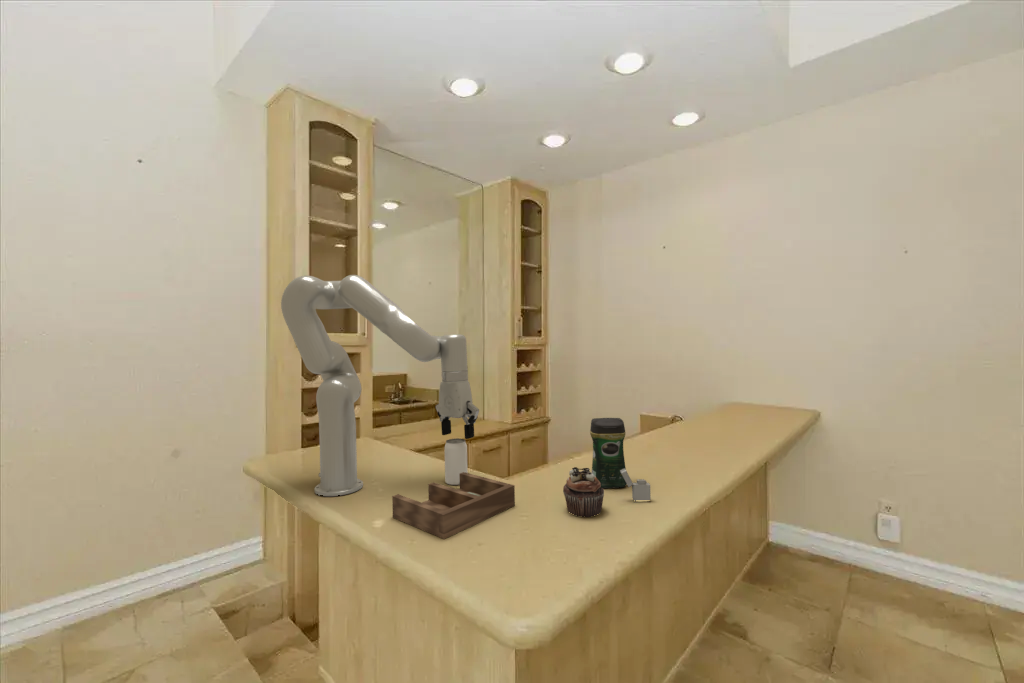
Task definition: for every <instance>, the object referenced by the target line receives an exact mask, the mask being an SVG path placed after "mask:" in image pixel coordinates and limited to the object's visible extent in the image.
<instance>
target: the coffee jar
mask: <svg viewBox="0 0 1024 683" xmlns="http://www.w3.org/2000/svg"><path fill="white" fill-rule="evenodd" d="M589 433H590V438H591V440H592V464H591V473H592V474H593V475H595V477H596V478H597V479H598V480H599V482H600V483H601V488H602V489H617V488H619V487H620V488H625V487H626V486H628V485H627V483H626V482H625V480H624V478H623V476H622V474H621V472H620V470H622V469H624V468H625V469H626V470H627V468H626V463H625V462H626V461H625V460H626V459H625V454H624V452H625V451H624V440H625V437H626V427H625V422H624V420H623V419H622V418H620V417H597V418H594V417H593V418H592V419H591V421H590V430H589Z"/></svg>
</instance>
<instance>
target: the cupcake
mask: <svg viewBox="0 0 1024 683" xmlns="http://www.w3.org/2000/svg"><path fill="white" fill-rule="evenodd" d="M580 470H581V471H580ZM568 474H569V476H568V478H567V479H566V481H565V482H566V483H565V484H564V486H563V491H562V492H563V493H562V494H563V496H564V499H565V504H566V509H567V511H568V513H569V512H570V513H572V514H574V515H577V516H576V517H578V516H582V517H581V518H592V517H591V516H594V515H597V514H599V513H600V514H601V512H602V510H603V509H602V508H603V501H604V496H605V488H601V483H600V482H599V480H598V479H597V478H596V477H595V475H593V474H592V471H591V470H590V468H589V467H583V468H579V467H575V466H574V467H572V469H570V470H569V473H568ZM570 513H569V514H570ZM572 514H571V515H572ZM600 514H599V515H600ZM574 515H573V516H574ZM584 516H585V517H584ZM597 516H598V515H597ZM594 517H595V516H594Z"/></svg>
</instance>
